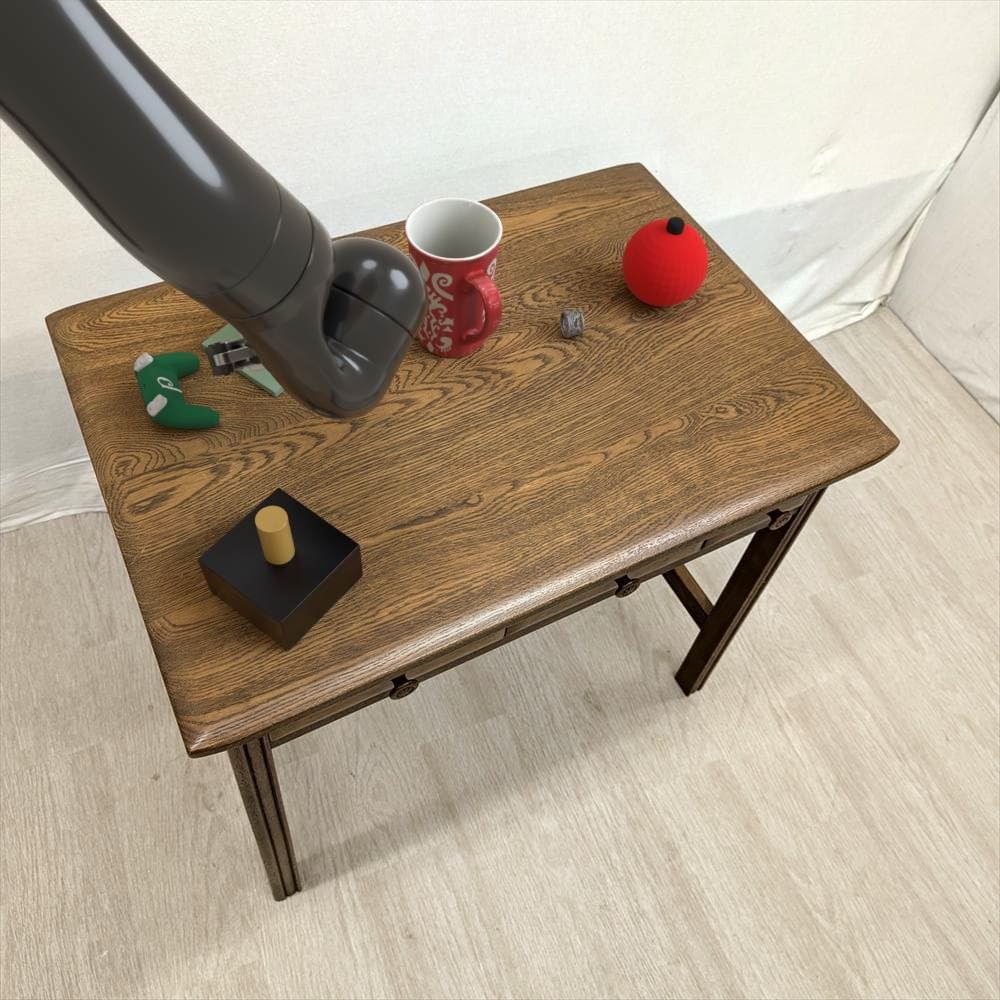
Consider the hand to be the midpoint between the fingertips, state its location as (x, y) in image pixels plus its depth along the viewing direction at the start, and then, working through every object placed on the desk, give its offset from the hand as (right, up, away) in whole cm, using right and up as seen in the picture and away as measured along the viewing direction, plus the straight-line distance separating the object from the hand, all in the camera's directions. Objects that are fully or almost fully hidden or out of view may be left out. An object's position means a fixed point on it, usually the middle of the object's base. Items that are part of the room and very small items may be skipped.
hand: (282, 341), depth 83 cm
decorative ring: (+27, +3, +11) cm, 30 cm away
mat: (-3, +1, +7) cm, 8 cm away
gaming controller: (-10, -5, +2) cm, 12 cm away
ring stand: (+2, -22, -8) cm, 23 cm away
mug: (+16, +1, +9) cm, 18 cm away
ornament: (+37, +8, +16) cm, 41 cm away
